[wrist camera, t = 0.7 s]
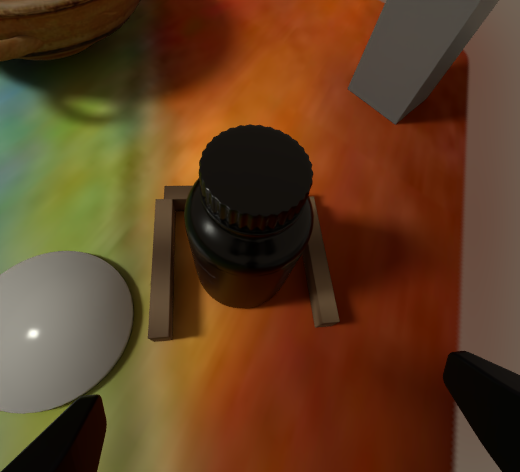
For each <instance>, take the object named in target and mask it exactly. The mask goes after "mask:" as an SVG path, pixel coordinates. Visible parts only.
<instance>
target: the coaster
mask: <svg viewBox="0 0 520 472" xmlns="http://www.w3.org/2000/svg"><path fill="white" fill-rule="evenodd" d="M133 318H134V308H133V300H132V296H131V293H130V290H129V287H128V286H127V284H126V282H125V280H124V279H123V277H122V276H121V275H120V274H119V272H118V271H117V270H116V269H114V268H113V267H112V266H111V265H110V264H109V263H107V262H106V261H104V260H102V259H100V258H98V257H96V256H93V255H91V254H87V253H83V252H76V251H58V252H50V253H46V254H42V255H38V256H35V257H32V258H29V259H27V260H25V261H23V262H20V263H18V264H17V265H15V266H13V267H11V268H10V269H8V270H7V271H5V272H4V273H2V274H1V275H0V411H5V412H10V413H33V412H40V411H45V410H49V409H54V408H56V407H59V406H62V405H65V404H67V403H69V402H71V401H73V400H75V399H77V398H79V397H80V396H82V395H84V394H85V393H87V392H88V391H89V390H91V389H92V388H93V387H95V386H96V385H97V384H98V383H99V382H100V381H101V380H102V379H103V378H104V377H105V376H106V375H107V374H108V373H109V372H110V371H111V370H112V368H113V367H114V366H115V364H116V363H117V361H118V360H119V358H120V357H121V355H122V353H123V351H124V349H125V347H126V345H127V343H128V340H129V337H130V334H131V330H132V326H133Z"/></svg>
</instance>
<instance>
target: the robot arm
mask: <svg viewBox="0 0 520 472" xmlns="http://www.w3.org/2000/svg"><path fill="white" fill-rule="evenodd" d="M443 380H444V383H445V385H446V387H447V389H448V390H449V392H450V394H451V395H452V397H453V398H454V400H455V402H456V403H457V405H458V406H459V408H460V410H461V411H462V413H463V415H464V416H465V418H466V419H467V421H468V422H469V424H470V426H471V427H472V429H473V431H474V432H475V434H476V435H477V437H478V438H479V440H480V442H481V443H482V444H483V446H484V447H485V449H486V450H487V452H488V453H489V454H490V456H491V457H492V458H493V460H494V461H495V463H496V464H497V465H498V467H499V468H500V470H501V471H502V472H520V375H518V374H516V373H514V372H512V371H509V370H507V369H505V368H503V367H501V366H498V365H496V364H494V363H492V362H489V361H487V360H485V359H483V358H481V357H478V356H476V355H474V354H472V353H469V352H466V351H457V352H451V353H450V354H449V355H448V358H447V361H446V365H445V369H444V373H443ZM106 425H107V423H106V416H105V412H104V407H103V402H102V398H101V396H100V395H97V394H96V395H87V396H82V397H79V398H78V399H77V400H76V401H75V402H74V403H72V404H71V405H70V406H69V407H68V408H67V409H66V410H65V411H64V412H63V413H62V414H61V415H60V416H59V417H58V418H57V419H56V420H55V421H54V422H53V423H51V424H50V425H49V426H48V427H47V428H46V429H45V430H44V431H43V432H42V433H41V434H40V435H39V436H38V437H37V438H36V439H35V440H34V441H33V442H32V443H30V444H29V445H28V446H27V447H26V448H25V449H24V450H23V451H22V452H21V453H20V454H19V455H18V456H17V457H16V458H15V459H14V460H13V461H12V462H11V463H9V464H8V465H7V466H6V467H5V468H4V469H3V470H2V471H1V472H97V470H98V465H99V461H100V456H101V451H102V447H103V442H104V438H105V433H106Z"/></svg>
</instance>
